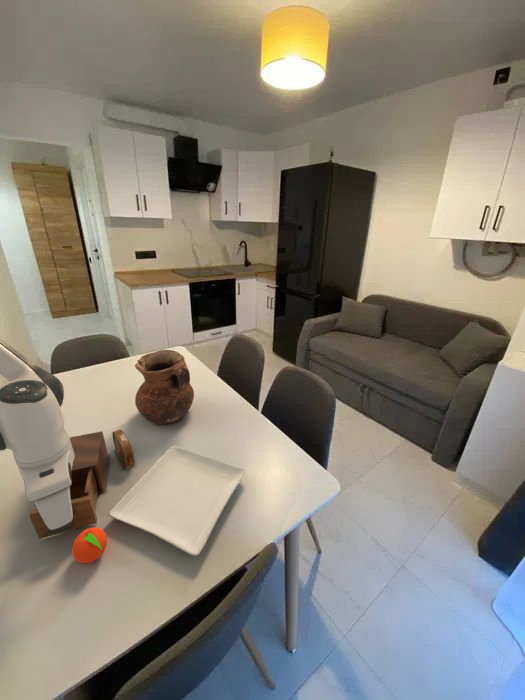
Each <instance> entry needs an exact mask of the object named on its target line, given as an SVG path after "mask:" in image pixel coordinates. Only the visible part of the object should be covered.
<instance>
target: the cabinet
mask: <svg viewBox="0 0 525 700" xmlns="http://www.w3.org/2000/svg"><path fill="white" fill-rule="evenodd" d="M69 437H70V441H71V444H72V447H73V450H74V454H75V458H74V461H73V465H72V472H77V471H81V470H86V469H90V468H94V469H95V473H96V476H97V480H98V484H99V487H98V494H101V493H104V492H105V486H106V479H107V471H108V463H109V453H108V450H107V449H108V448H107V444H106V441H105V437H104V432H103V431H102V430H101V431H97V432H92V433H91V432H90V433H86V434H85V433H84V434H80V435H76V436H69Z"/></svg>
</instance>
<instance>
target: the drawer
mask: <svg viewBox="0 0 525 700" xmlns="http://www.w3.org/2000/svg"><path fill="white" fill-rule="evenodd" d="M71 475H72V480H71V481H72V484H71V485H70V497H71V504H72V511H73V519H72V521H71V522H69V523H68V524H66V525H64V526H62V527H59V528H57V529H54V530H51V529H49V528H48V527H47V525H46V524H45V522H44V520H43V519H42V517H41V515H40V513H39V511H38V509H37V508H35V509H34V508H33V509H29V512H28V517H29V519H30V522H31V524H32V526H33V529H34V530H35V533H36V535H37V538H38V540H41V539H45V538H49V537H51V536H55V535H58V534H62V533H67V532H69V531H73V530H75V529H80V528H82V527H86V526H90V525H93V524H97V522H98V517H97V513H96V507H97V500H98V494H99V493H98V487H99V484H98V480H97V476H96V473H95V469H94V468H90V469H86V470H81V471H77V472H72V473H71Z"/></svg>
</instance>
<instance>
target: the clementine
mask: <svg viewBox="0 0 525 700" xmlns="http://www.w3.org/2000/svg"><path fill="white" fill-rule="evenodd" d="M107 545H108V537H107V533H106V532H105V531H104V530H103V529H102V528H100V527H96V526H94V527H89V528H86V529H84V530H82V532H80V533H79V534H78V535H77V536H76V538H75V540H74V542H73V544H72V548H71V549H72V550H71V551H72V556H73V558H74V559H75V561H77V562H78V563H81V564H90V563H92V562H94V561H96V560H98V559H99V558H100V557H101V556H102V555H103V553H104V552H105V550H106V548H107Z"/></svg>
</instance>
